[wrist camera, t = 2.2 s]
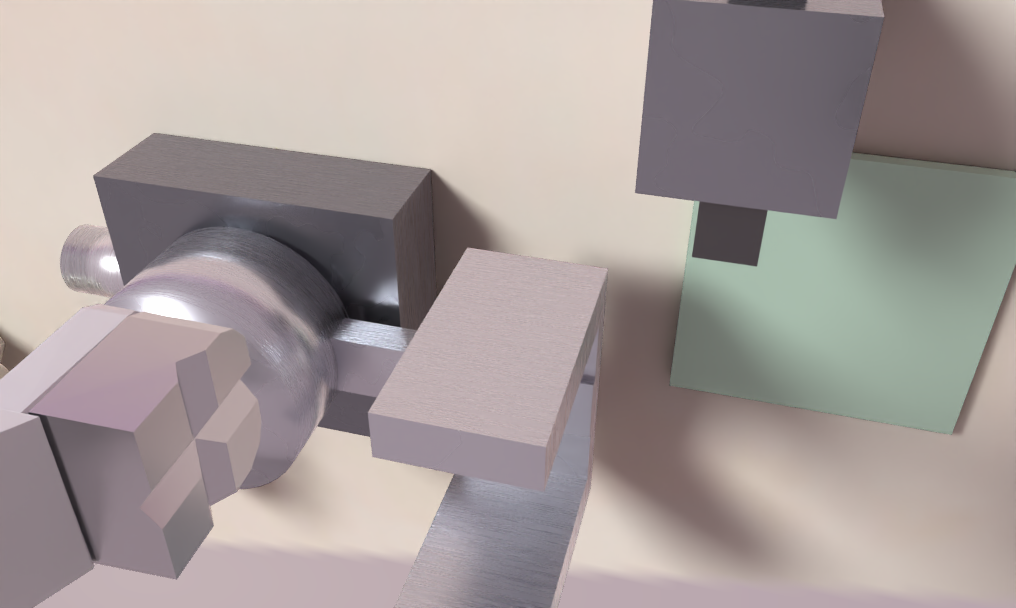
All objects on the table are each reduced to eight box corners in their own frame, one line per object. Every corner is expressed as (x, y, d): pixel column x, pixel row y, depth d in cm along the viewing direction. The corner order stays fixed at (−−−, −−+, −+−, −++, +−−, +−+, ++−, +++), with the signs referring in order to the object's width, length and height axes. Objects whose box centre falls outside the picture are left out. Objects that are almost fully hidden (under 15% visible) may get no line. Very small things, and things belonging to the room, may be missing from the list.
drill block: (430, 169, 26) (392, 219, 24) (440, 385, 31) (409, 444, 29) (83, 123, 29) (17, 164, 27) (140, 329, 34) (88, 380, 31)
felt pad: (1043, 174, 22) (1046, 181, 22) (950, 425, 27) (951, 434, 26) (703, 135, 24) (702, 141, 23) (670, 377, 28) (669, 385, 28)
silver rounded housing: (609, 264, 23) (545, 447, 17) (592, 484, 27) (536, 684, 22) (116, 191, 26) (-67, 327, 20) (171, 399, 30) (32, 556, 25)
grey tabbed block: (880, -173, 19) (909, -92, 13) (819, 117, 23) (819, 293, 16) (713, -181, 20) (662, -107, 13) (680, 102, 23) (628, 265, 17)
